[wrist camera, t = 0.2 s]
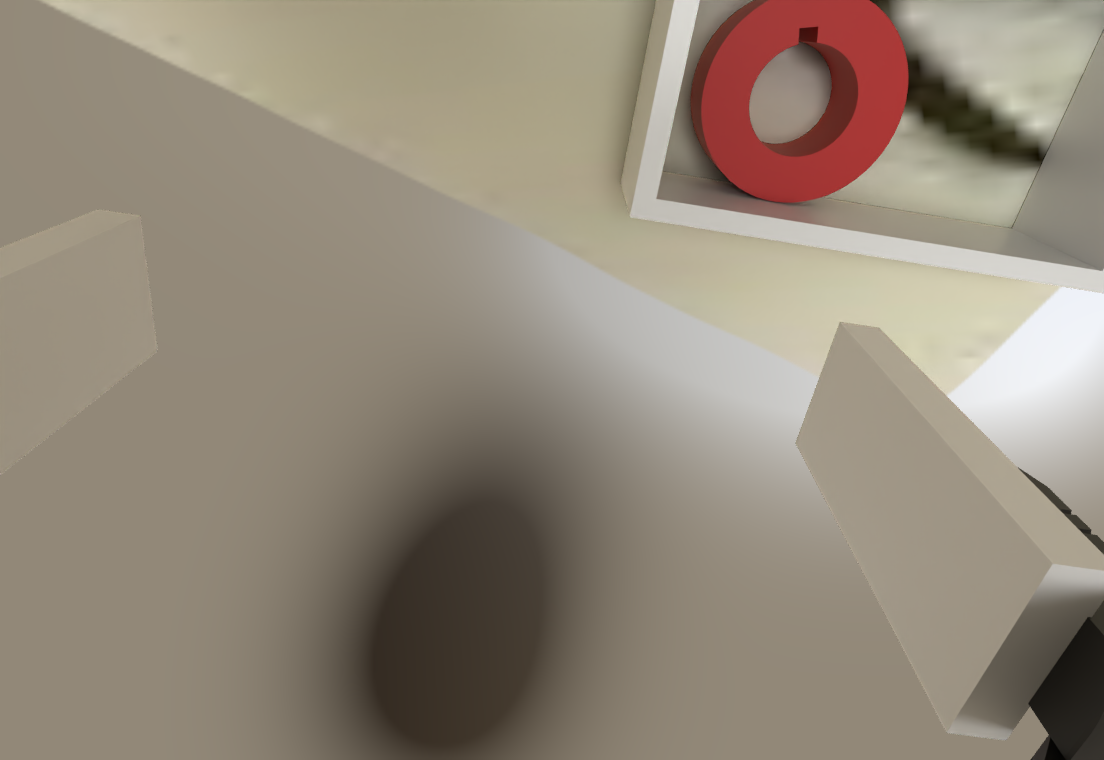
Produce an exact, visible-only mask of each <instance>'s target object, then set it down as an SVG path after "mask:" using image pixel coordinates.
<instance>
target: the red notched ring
mask: <svg viewBox="0 0 1104 760" xmlns="http://www.w3.org/2000/svg"><path fill="white" fill-rule="evenodd" d="M798 41H800V42H804V43H806V44H808V45H810V46H812V47H814V48H815V49H816V50H817V51H818V52H819V53H820V54H821V55H822V56H823V57H824V59H825V61H826V62H827V64H828V67H829V70H830V73H831V80H832V90H831V96H830V100H829V103H828V106H827V108H826V111H825V112H824V114H823V116H822V117H821V119H820V120H819V122H818V123H817V124H816V125H815V126H814V127H813V128H812V129H811V130H810V131H809V132H808V133H806V134H805V135H803V136H802V137H800V138H798V139H796V140H793V141H791V142H787V143H782V144H769V143H764V142H761V141H760V140H759V139H758V138H757V136H756V134H755V133H754V130H753V128H752V125H751V122H750V117H749V100H750V95H751V91H752V88H753V85H754V83H755V81H756V79H757V77H758V75H759V74H760V72H761V71H762V69H763V68H764V67H765V65H766V64H767V63H768V62H769V61H770V60H771V59H772V58H774V57H775V56H776V55H777V54H779V53H780V52H782V51H784V50H785V49H787V48H790V47H792V46H795V45H798ZM907 90H908V64H907V59H906V53H905V50H904V46H903V43H902V40H901V38H900V36H899V34H898V32H897V30H896V28H895V27H894V25H893V23H892V22H891V20H890V19H889V18H888V17H887V16H886V14H885V13H884V12H883V11H882V10H881V9H880V8H879V7H878V6H876V5H875V4H874V3H872V2H871V1H870V0H754V1H752V2H750V3H748V4H747V5H745V6H744V7H742V8H741V9H739V10H738V11H737V12H735V13H734V14H733V15H732V16H730V17H729V18H728V19H727V20H726V21H725V22H724V23H723V24H722V25H721V26H720V28H719V29H718V30H717V31H716V32H715V34H714V35H713V36H712V38H711V39H710V41H709V42H708V44H707V46H706V48H705V49H704V51H703V53H702V55H701V58H700V60H699V62H698V65H697V68H696V71H695V74H694V78H693V83H692V91H691V114H692V120H693V125H694V129H695V132H696V135H697V138H698V140H699V142H700V144H701V146H702V148H703V149H704V151H705V153H706V154H707V155H708V157H709V158H710V159H711V160H712V162H713V163H714V164H715V165H716V166H717V167H718V168H719V170H720V171H721V172H722V173H723V174H724V175H725V176H726V177H727V178H728V179H729V180H730V181H731V182H732V183H733V184H735V185H736V186H737V187H739V188H740V189H742V190H743V191H745V192H747V193H749V194H751V195H753V196H755V197H758V198H761V199H764V200H769V201H774V202H783V203H795V202H803V201H809V200H813V199H817V198H820V197H823V196H826V195H829V194H831V193H833V192H835V191H837V190H839V189H841V188H843V187H845V186H846V185H848V184H849V183H851V182H852V181H854V180H855V179H857V178H858V177H859V176H860V175H861V174H863V173H864V172H865V171H866V170H867V169H868V168H869V167H870V166H871V165H872V164H873V163H874V162H875V161H876V160H877V158H878V157H879V156H880V155H881V154H882V152H883V151H884V149H885V148H886V146H887V145H888V144H889V142H890V140H891V138H892V137H893V135H894V133H895V131H896V129H897V126H898V124H899V122H900V119H901V116H902V113H903V110H904V106H905V102H906V97H907Z"/></svg>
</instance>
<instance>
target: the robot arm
mask: <svg viewBox="0 0 1104 760" xmlns="http://www.w3.org/2000/svg"><path fill="white" fill-rule="evenodd" d="M146 263H147V262H146V254H145V247H144V239H143V231H142V223H141V216H139V215H133V214H126V213H119V212H112V211H105V210H99V209H97V210H95V211H93V212H90V213H87V214H85V215H82V216H80V217H77V218H75V219H72V220H70V221H67V222H65V223H62V224H59V225H57V226H54V227H52V228H49V229H46V230H44V231H41V232H39V233H36V234H34V235H31V236H29V237H26V238H23V239H21V240H19V241H16V242H13V243H11V244H8V245H6V246H3V247H1V248H0V475H1V474H2V473H4V472H5V471H6V470H7V469H9V468H10V467H11V466H12V465H14V464H15V463H16V462H18V461H19V460H20V459H21V458H23V457H24V456H25V455H26V454H28V453H29V452H30V451H31V450H33V449H34V448H35V447H36V446H38V445H39V444H40V443H42V442H43V441H44V440H45V439H47V438H48V437H49V436H51V435H52V434H53V433H54V432H56V431H57V430H58V429H59V428H61V427H62V426H63V425H65V424H66V423H67V422H68V421H69V420H71V419H72V418H73V417H75V416H76V415H77V414H79V413H80V412H81V411H82V410H84V409H85V408H86V407H87V406H89V405H90V404H91V403H92V402H94V401H95V400H96V399H98V398H99V397H100V396H101V395H103V394H104V393H105V392H106V391H108V390H109V389H110V388H112V387H113V386H114V385H115V384H116V383H118V382H119V381H120V380H122V379H123V378H124V377H125V376H127V375H128V374H129V373H131V372H132V371H133V370H134V369H136V368H137V367H138V366H139V365H141V364H142V363H143V362H145V361H146V360H147V359H148V358H150V357H151V356H152V355H153V354H155V353H156V352H157V342H156V334H155V326H154V318H153V310H152V303H151V295H150V287H149V279H148V270H147V264H146ZM796 445H797V447H798V449H799V451H800V453H801V455H802V457H803V459H804V461H805V462H806V464H807V466H808V468H809V470H810V472H811V474H812V476H813V478H814V479H815V482H816V484H817V485H818V487H819V489H820V491H821V493H822V495H823V497H824V499H825V501H826V503H827V505H828V506H829V509H830V510H831V512H832V514H833V516H834V518H835V520H836V522H837V524H838V526H839V528H840V530H841V531H842V533H843V535H844V537H845V539H846V541H847V543H848V545H849V547H850V549H851V551H852V553H853V555H854V556H855V558H856V560H857V562H858V564H859V566H860V568H861V570H862V571H863V574H864V576H865V578H866V579H867V581H868V583H869V585H870V587H871V589H872V591H873V593H874V595H875V597H876V599H877V601H878V602H879V604H880V606H881V608H882V610H883V612H884V614H885V616H886V618H887V620H888V622H889V623H890V626H891V627H892V629H893V631H894V633H895V635H896V637H897V639H898V641H899V643H900V644H901V647H902V649H903V650H904V652H905V654H906V656H907V658H908V660H909V662H910V664H911V666H912V668H913V670H914V671H915V673H916V675H917V677H918V679H919V681H920V683H921V685H922V687H923V689H924V691H925V693H926V695H927V696H928V698H929V700H930V702H931V704H932V706H933V708H934V710H935V712H936V714H937V716H938V718H939V719H940V721H941V723H942V725H943V727H944V729H945V731H946V733H952V734H960V735H968V736H976V737H983V738H991V739H999V740H1007V738H1008V737H1009V735H1010V734H1011V733H1012V731H1013V730H1014V728H1015V727H1016V726H1017V724H1018V723H1019V721H1020V720H1021V718H1022V717H1023V715H1024V714H1025V713H1026V711H1027V710H1028V708H1029V707H1031V708H1032V710H1033V711H1034V713H1035V714H1036V716H1037V717H1038V719H1039V720H1040V722H1041V723H1042V725H1043V726H1044V728H1045V729H1046V731H1047V732H1048V734H1049V736H1048V737H1047V738H1046V740H1045V741H1044V743H1043V744H1042V745H1041V746H1040V748H1039V749H1038V751H1037V752H1036V753H1035V755H1034V756H1033V757H1032V759H1031V760H1104V542H1103V541H1102V540H1101V539H1100V538H1099V537H1098V536H1097V535H1092V534H1091V529H1090V528H1089V527H1088V526H1087V525H1086V524H1085V523H1084V522H1083V521H1082V520H1080V518H1079V517H1078V516H1077V515H1071V509H1069V508H1068V507H1067V506H1066V505H1065V504H1064V503H1063V502H1062V501H1061V500H1060V499H1059V498H1058V497H1057V496H1056V495H1055V494H1054V493H1053V492H1052V491H1051V490H1050V489H1049V488H1048V487H1047V486H1045V485H1044V484H1042V483H1041V482H1039V481H1038V480H1036V479H1035V478H1033V477H1032V476H1030V475H1029V474H1027V473H1026V472H1024V471H1022V470H1021V469H1019V468H1018V467H1016V466H1015V465H1014V464H1013V463H1012V462H1011V461H1010V460H1009V459H1008V458H1007V457H1006V456H1005V455H1004V454H1003V453H1002V452H1001V451H1000V450H999V448H998V447H997V446H996V445H995V444H994V443H992V441H991V440H990V439H988V437H987V436H986V435H985V434H984V433H983V432H982V431H981V430H980V429H978V427H977V426H976V425H975V424H974V423H973V422H972V421H971V420H970V419H969V418H968V417H967V416H966V415H965V414H964V413H963V412H962V411H961V410H960V409H959V408H958V407H957V406H956V405H955V404H954V403H953V402H952V401H951V400H950V399H949V398H948V397H947V396H946V395H945V394H944V393H943V392H942V391H941V390H940V389H939V388H938V387H937V386H936V385H935V384H934V383H933V382H932V381H931V380H930V379H929V378H928V377H927V376H926V375H925V374H924V373H923V372H922V371H921V370H920V369H919V368H918V367H917V366H916V365H915V364H914V363H913V362H912V361H911V360H910V359H909V358H908V357H907V356H906V355H905V354H904V353H903V352H902V351H901V350H900V349H899V348H898V347H897V346H896V345H895V343H894V342H893V341H892V340H891V339H890V338H889V337H888V336H887V335H886V334H885V333H884V332H883V331H882V330H881V329H880V328H877V327H870V326H864V325H857V324H851V323H844V322H840V323H839V326H838V328H837V331H836V334H835V337H834V339H833V342H832V345H831V347H830V350H829V353H828V356H827V358H826V361H825V364H824V367H823V369H822V372H821V375H820V377H819V380H818V383H817V386H816V388H815V391H814V394H813V397H812V399H811V402H810V405H809V407H808V410H807V413H806V416H805V418H804V421H803V424H802V427H801V429H800V432H799V435H798V437H797V440H796Z"/></svg>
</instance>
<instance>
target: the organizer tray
mask: <svg viewBox="0 0 1104 760" xmlns="http://www.w3.org/2000/svg"><path fill="white" fill-rule="evenodd" d="M699 2H700V0H656V3H655V8H654V13H653V18H652V23H651V28H650V34H649V39H648V44H647V49H646V54H645V59H644V64H643V70H642V75H641V80H640V85H639V90H638V95H637V100H636V106H635V111H634V116H633V121H632V126H631V131H630V136H629V142H628V147H627V152H626V157H625V162H624V167H623V172H622V178H621V183H620V184H621V188H622V191H623V195H624V198H625V202H626V206H627V209H628V213H629V216H630V217H631V218H637V219H643V220H650V221H656V222H662V223H668V224H675V225H681V226H687V227H693V228H700V229H706V230H712V231H718V232H725V233H731V234H737V235H743V236H749V237H756V238H762V239H768V240H774V241H781V242H787V243H793V244H799V245H806V246H812V247H818V248H824V249H831V250H837V251H843V252H849V253H855V254H862V255H868V256H874V257H880V258H887V259H893V260H899V261H905V262H912V263H918V264H924V265H930V266H937V267H943V268H949V269H955V270H961V271H968V272H974V273H980V274H986V275H993V276H999V277H1005V278H1011V279H1018V280H1024V281H1030V282H1036V283H1043V284H1049V285H1055V286H1061V287H1067V288H1074V289H1080V290H1086V291H1092V292H1099V293H1104V31H1103V33H1102V35H1101V37H1100V39H1099V41H1098V43H1097V46H1096V48H1095V50H1094V52H1093V54H1092V56H1091V59H1090V61H1089V63H1088V65H1087V67H1086V69H1085V72H1084V74H1083V76H1082V78H1081V80H1080V82H1079V85H1078V87H1077V89H1076V91H1075V93H1074V95H1073V97H1072V100H1071V102H1070V104H1069V106H1068V108H1067V110H1066V113H1065V115H1064V117H1063V119H1062V121H1061V123H1060V126H1059V128H1058V130H1057V132H1056V134H1055V136H1054V139H1053V141H1052V143H1051V145H1050V147H1049V149H1048V151H1047V154H1046V156H1045V158H1044V160H1043V162H1042V164H1041V167H1040V169H1039V171H1038V173H1037V175H1036V177H1035V180H1034V182H1033V184H1032V186H1031V188H1030V190H1029V193H1028V195H1027V197H1026V199H1025V201H1024V203H1023V205H1022V208H1021V210H1020V212H1019V214H1018V216H1017V218H1016V221H1015V223H1014V225H1013V227H1012V228H1006V227H1000V226H994V225H988V224H982V223H975V222H969V221H963V220H957V219H951V218H945V217H939V216H933V215H927V214H920V213H914V212H908V211H902V210H896V209H890V208H884V207H878V206H872V205H865V204H859V203H853V202H847V201H841V200H835V199H829V198H823V197H820V198H817V199H813V200H809V201H803V202H795V203H783V202H774V201H769V200H764V199H761V198H758V197H755V196H753V195H751V194H749V193H747V192H745V191H743V190H742V189H740V188H739V187H737V186H736V185H735V184H733V183H731V182H725V181H719V180H713V179H706V178H700V177H694V176H688V175H682V174H676V173H670V172H664V171H662V170H663V166H664V161H665V157H666V152H667V147H668V143H669V138H670V134H671V129H672V125H673V120H674V116H675V111H676V107H677V102H678V97H679V93H680V88H681V84H682V79H683V75H684V70H685V66H686V61H687V57H688V52H689V47H690V43H691V38H692V34H693V29H694V25H695V20H696V16H697V11H698V6H699Z"/></svg>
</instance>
